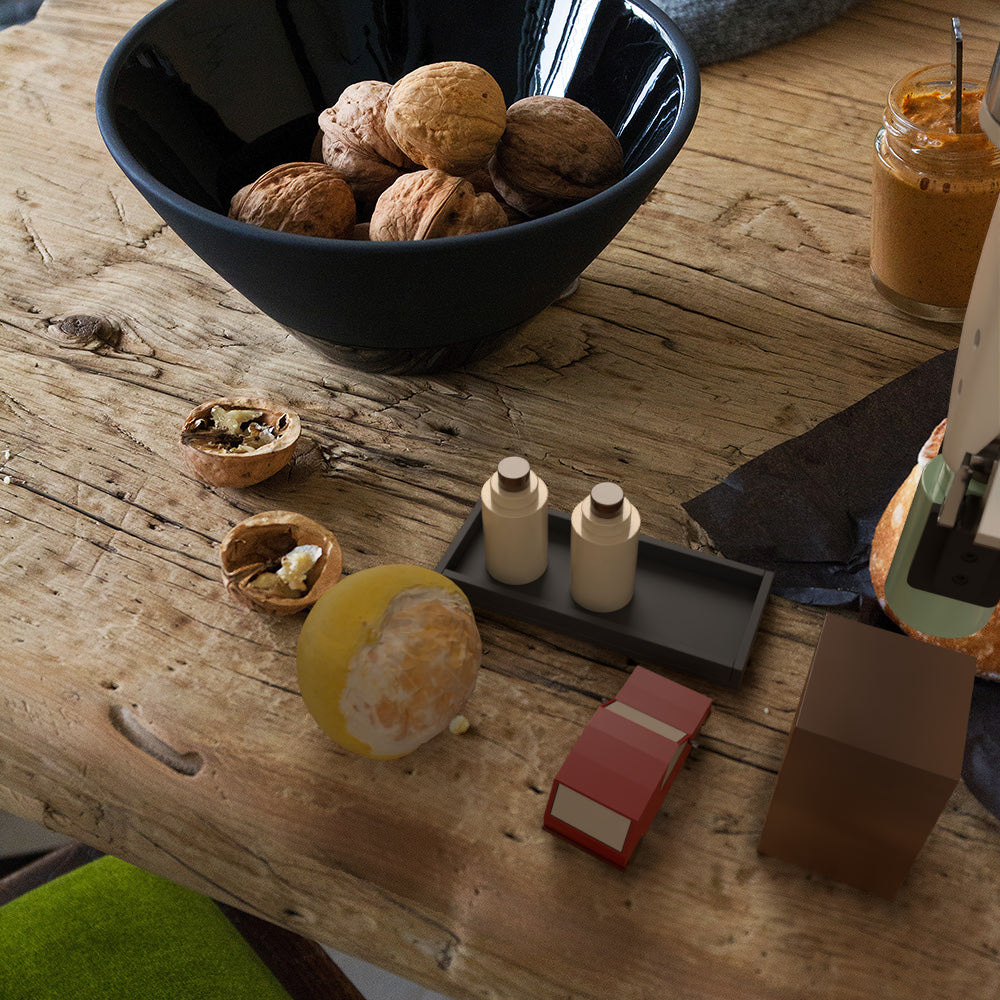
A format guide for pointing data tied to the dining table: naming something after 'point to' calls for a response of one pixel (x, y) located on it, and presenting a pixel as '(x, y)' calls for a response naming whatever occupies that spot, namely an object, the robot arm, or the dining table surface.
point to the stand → (869, 755)
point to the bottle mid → (604, 549)
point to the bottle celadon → (905, 601)
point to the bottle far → (515, 523)
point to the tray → (631, 601)
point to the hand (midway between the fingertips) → (959, 543)
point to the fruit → (388, 659)
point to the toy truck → (625, 767)
